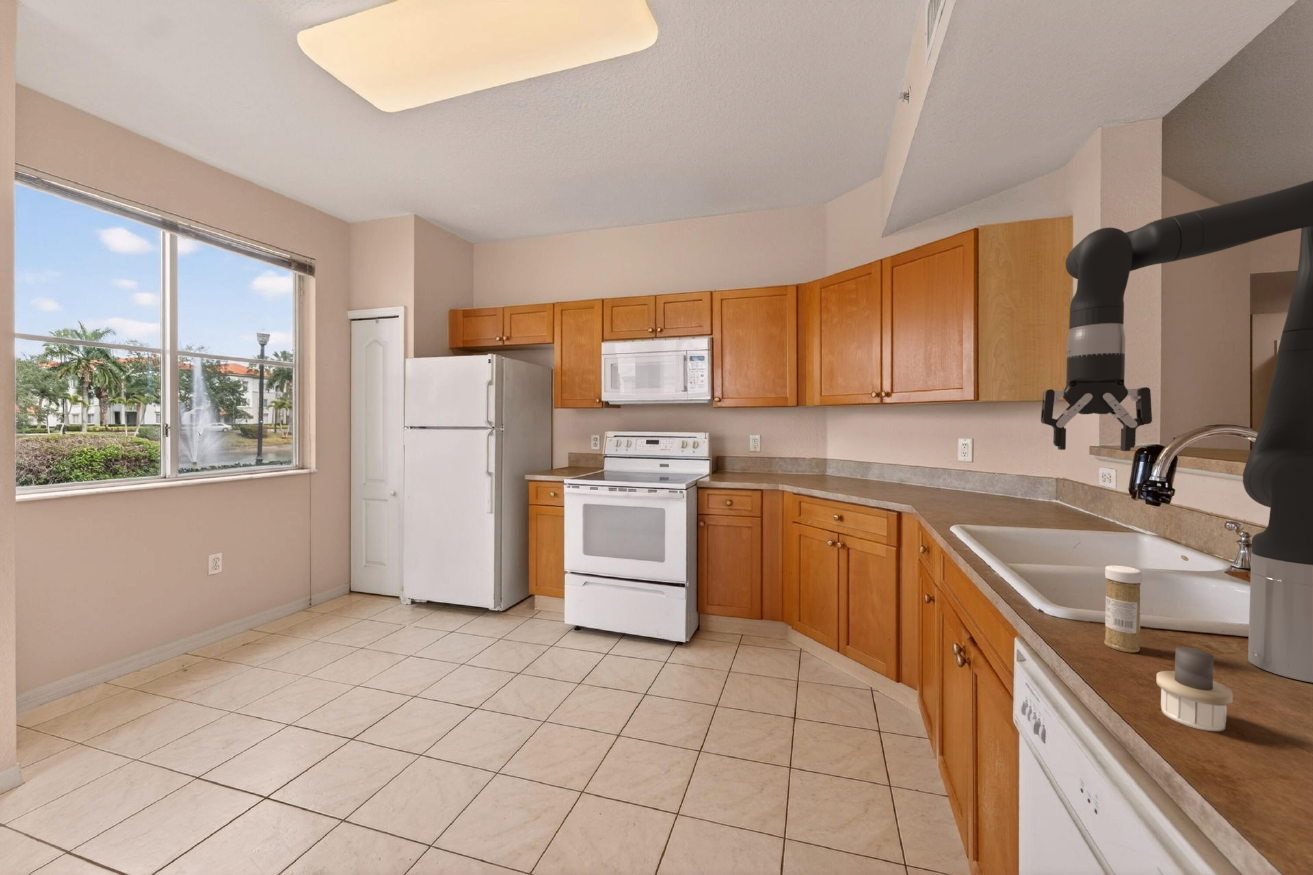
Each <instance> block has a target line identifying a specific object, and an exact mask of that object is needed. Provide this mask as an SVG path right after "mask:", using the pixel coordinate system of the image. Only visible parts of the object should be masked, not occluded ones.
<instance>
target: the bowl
mask: <svg viewBox="0 0 1313 875" xmlns="http://www.w3.org/2000/svg"><path fill="white" fill-rule="evenodd" d="M1160 707H1161V713H1163V715H1164V716H1165V717H1168V718H1169V719H1171V720H1172V721H1175V722H1177V723H1179V724H1181V725H1184V726H1187V727H1191V728H1193V729H1197V730H1201V731H1205V732H1206V731H1207V732H1223V731H1225V730H1226V723H1227V708H1228V705H1225V706H1218V705H1209V704H1203V703H1199V702H1194V701H1191V700H1187V699H1184V698H1181V697H1178V696H1176V695H1173V694H1171V693H1169V692H1167V691H1165V690H1163V689H1162V688H1160Z"/></svg>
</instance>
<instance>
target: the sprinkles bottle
mask: <svg viewBox="0 0 1313 875" xmlns="http://www.w3.org/2000/svg"><path fill="white" fill-rule="evenodd" d="M1104 569H1105V570H1104V577H1105V580H1106V583H1105V586H1106V588H1105V589H1106V591H1105V592H1106V593H1105V610H1104V612H1105V613H1104V614H1105V615H1104V616H1105V620H1104V621H1105V622H1104V625H1105V638H1104V641H1103V643H1104V645H1105V646H1106V647H1109V648H1111V649H1113V650H1117V651H1119V652H1124V653H1125V652H1126V653H1138V652H1139V651H1141V646H1140V631H1141V611H1140V610H1141V609H1140V608H1141V603H1140V602H1141V585H1142V584H1141V583H1142V582H1143V581H1142V580H1143V574H1142V571H1141V570H1140V569H1137V568H1134V567H1130V566H1124V565H1107V566H1105V568H1104Z"/></svg>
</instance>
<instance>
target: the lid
mask: <svg viewBox="0 0 1313 875" xmlns="http://www.w3.org/2000/svg"><path fill="white" fill-rule="evenodd" d="M1174 651H1175V654H1174V670H1161V671H1159V672H1157V673H1156V680H1155V681H1156V685H1157V687H1159V688H1160V689H1161V688H1162V689H1163V690H1165V691H1167V692H1169V693H1171V694H1173V695H1176V696H1178V697H1181V698H1184V699H1187V700H1191V701H1194V702H1199V703H1203V704H1209V705H1218V706H1225V705H1227V706H1230V705H1232V704H1233V701H1234V700H1233V699H1234V693H1233V691H1232V689H1230V688H1229V687H1227V685H1226V686H1225V685H1224V684H1222V683H1220V682H1217V681H1215V680H1214V661H1215V660H1214V659H1215V657H1214V655H1213V654H1212V653H1210V652H1208V651H1204V650H1201V649H1198V648H1194V647H1188V646H1177V647H1175V650H1174Z"/></svg>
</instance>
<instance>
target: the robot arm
mask: <svg viewBox="0 0 1313 875" xmlns="http://www.w3.org/2000/svg"><path fill="white" fill-rule="evenodd" d="M1299 229H1301V230H1300V244H1299V256H1298V266H1297V273H1296V277H1295V281H1294V284H1293V288H1292V293H1291V296H1290V301H1289V305H1288V310H1287V314H1286V318H1285V323H1284V325H1283V328H1282V334H1281V335H1280V336H1281V337H1280V339H1279V340H1280V341H1279V346H1278V351H1277V353H1276V360H1275V366H1274V370H1273V371H1274V372H1273V375H1272V380H1271V384H1270V388H1269V391H1268V396H1267V400H1266V401H1267V402H1266V406H1265V409H1264V410H1265V411H1264V414H1263V419H1262V421H1261V424H1260V428H1259V430H1258V433H1257V435H1256V436H1255V437H1256V438H1255V440H1254V443H1253V445H1252V448H1251V450H1250V452H1249V456H1248V457H1247V460H1246V463H1245V467H1244V468H1243V473H1242V484H1243V488H1244V490H1245V493H1246V494H1247V495H1248V496H1249V498H1250V499H1251V500H1253V501H1255V503H1257V504H1259V505H1262V506H1264V507H1266V508H1270V509H1269V517H1268V518H1269V519H1268V524H1267V526H1266V528H1265V530H1264V531H1261V532H1259V533H1256V534H1254V535H1253V536H1252V539H1251V549H1250V552H1251V554H1250V586H1249V615H1248V616H1249V617H1248V618H1249V621H1248V647H1247V648H1248V650H1247V651H1248V652H1247V653H1248V654H1247V655H1248V656H1247V661H1248V662H1249V663H1250V664H1252V665H1253V666H1256V667H1258V668H1260V669H1262V670H1264V671H1267V672H1269V673H1273V674H1274V675H1277V676H1278V675H1279V676H1282V677H1285V678H1289V679H1294V680H1298V681H1303V682H1308V683H1313V180H1311V181H1307V182H1304V183H1299V184H1298V185H1295V186H1291V187H1287V188H1283V189H1280V190H1276V191H1273V192H1269V193H1265V194H1261V195H1257V196H1253V197H1249V198H1245V199H1240V200H1237V201H1232V202H1227V203H1224V204H1219V205H1215V206H1211V207H1207V208H1203V209H1197V210H1194V211H1193V210H1192V211H1190V212H1188V211H1187V212H1185V213H1180V214H1177V215H1172V216H1168V217H1167V216H1166V217H1163V218H1161V219H1157V220H1154V221H1151V222H1148V223H1147V224H1145V225H1143V226H1141V227H1139V228H1137V229H1133V230H1130V231H1123V230H1122V229H1120V228H1117V227H1103V228H1100V229H1097V230H1094V231H1092V232H1090V233H1089V234H1087V235H1086V236H1085V237H1084V238H1082V239H1081V240H1080V241H1079V242H1078V243H1077V244H1076V245H1074V247H1073V248H1072V249H1071V250H1070V251H1069V253H1068V255H1067V257H1066V260H1065V268H1066V271H1067V273H1068V274H1069V276H1071V277H1072V278H1073V279H1076V280H1077V284H1076V292H1075V294H1074V296H1072V299H1071V302H1070V306H1069V321H1068V322H1069V324H1068V326H1069V330H1068V337H1067V343H1066V350H1065V354H1066V374H1065V375H1066V383H1065V384H1066V385H1065V388H1064V390H1054V389H1047V390H1044V391H1043V392H1042V393H1043V394H1042V402H1041V403H1042V404H1041V414H1040V422H1041V424H1043V425H1047V426H1051V427H1052V429H1053V440H1052V441H1053V446H1055V447H1057V450H1060V451H1065V450H1066V447H1067V445H1066V444H1067V428H1065V426H1066V425H1067V424H1068V423H1069V422H1070V421H1071V420H1072V419H1073V418H1075V416H1076V415H1077V414H1080V415H1092V414H1095V415H1108V414H1110V415H1111V416H1112V417H1113V418H1115V420H1117V421H1118V422H1119V423H1120V424H1121V425H1122V426H1123V428H1120V450H1121V452H1130V451H1131V449H1132V448H1135V446H1136V441H1137V440H1136V437H1137V436H1136V435H1137V433H1136V430H1137V428H1138V427H1140V426H1141V427H1142V426H1144V425H1149V424H1151V423H1152V422H1153V413H1152V399H1151V398H1152V393H1151V389H1150V387H1148V386H1147V387H1146V386H1142V387H1139V388H1129V389H1128V388H1127V387H1126V385H1125V375H1126V374H1125V372H1126V371H1125V370H1126V369H1125V367H1126V364H1125V363H1126V361H1125V360H1126V335H1125V327H1124V326H1125V325H1124V322H1125V321H1124V318H1125V301H1124V298H1125V292H1126V289H1127V285H1128V281H1129V277H1130V273H1131V272H1133V271H1136V270H1139V269H1143V268H1145V267H1150V266H1154V265H1160V264H1167V263H1171V262H1177V261H1182V260H1186V259H1192V258H1195V257H1201V256H1205V255H1209V254H1214V253H1217V252H1219V251H1225V250H1228V249H1230V248H1235V247H1237V246H1241V245H1245V244H1247V243H1251V242H1254V241H1255V242H1256V241H1258V240H1261V239H1262V240H1263V239H1264V238H1268V237H1272V236H1275V235H1279V234H1282V233H1287V232H1292V231H1295V230H1299ZM1061 397H1063V399H1064V400H1065V401H1066V403H1067V404H1068V406H1067V407H1066V408H1065V409H1064V410H1063V412H1061V414H1060V415H1059V416H1058V417H1057V419H1056V418H1053V415H1054V414H1053V413H1054V405H1055V403H1057V402H1059V400H1060V398H1061ZM1126 397H1130V399H1131V401H1132V402H1135V412H1136V414H1135V415H1136V417H1135V418H1133V417H1132V416H1131V415H1130V413H1129V412H1128V410H1127V409H1126V408H1125V407H1124V406H1123V405H1122V404H1121V403H1122V402H1123V401H1124V400H1125V399H1126Z"/></svg>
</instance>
